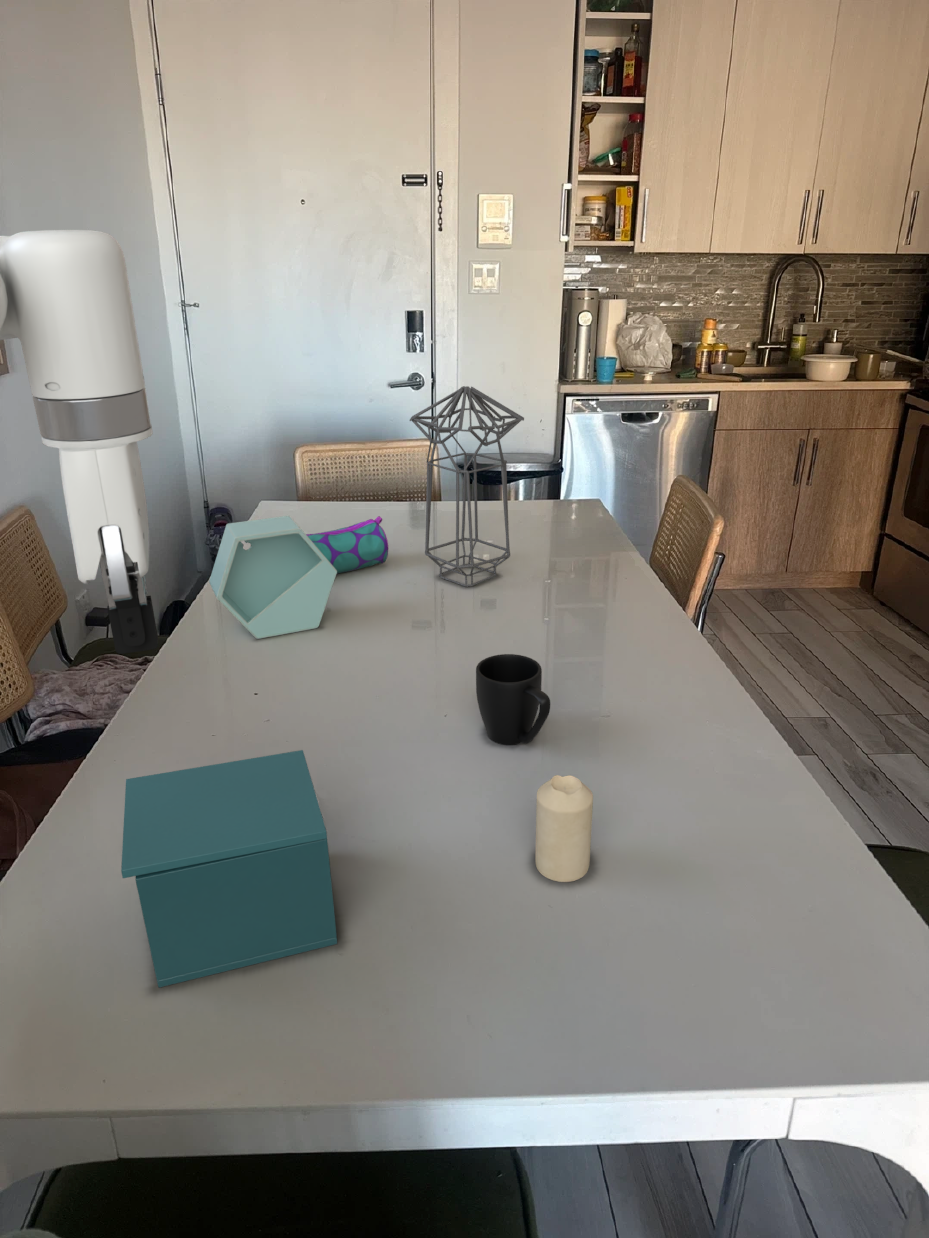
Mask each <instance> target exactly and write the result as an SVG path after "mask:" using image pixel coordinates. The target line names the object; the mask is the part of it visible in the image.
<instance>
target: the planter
mask: <svg viewBox="0 0 929 1238" xmlns="http://www.w3.org/2000/svg"><path fill="white" fill-rule="evenodd" d="M242 542H245V543H246V544H250V546H249V547H248V548H247V549H245V548H244V543H242ZM216 554H217V555H216V557H215V561H214V564H213V568H212V571H211V574H210V577H209V581H208V583H209V585H210V587H211V589H212V592H213V594H214V596H215V598H216V599H217V601H218V602H219V603H220V604H221V605H222V606H223V607H224V608H225V609H227V611H228V612H229V613H230V614H231V615H232V616H233V617H234V618H235V619H236V620H237V621H238V622H239V623H240V624H241V625H242V626H243V627H244V628H245V629H246V630H247V631H248V632H249V633H250V634H251V635H252V637H254V638H255V639H257V640H260V639H265V638H270V637H276V636H282V635H286V634H287V635H288V634H292V633H298V632H303V631H309V630H313V629H318V628H319V626H320V624H321V621H322V618H323V615H324V612H325V609H326V606H327V603H328V600H329V597H330V594H331V592H332V588H333V586H334V582H335V581H336V577H337V570H336V569H335V568H334V567H333V565H332V564H331V563H330V562H329V561H328V560H327V558H326V557H325V556H324V555H323V554H322V553H321V551H320V550H319V549H318V548H317V547H316V546H315V544H314V543H313V542H312V541H311V540H310V539H309V537H308V536H307V535H306V533H305V532H304V530H303V529H302V528H301V527H300V526H299V525H298V523H297V522H296V521H295V520H294V518H292V516H291V515H282V516H276V517H267V518H260V519H252V520H245V521H238V522H237V521H236V522H229V523H226V525H225V528H224V531H223V535H222V536H221V541H220V545H219V547H218V551H217V553H216Z"/></svg>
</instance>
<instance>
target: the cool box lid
mask: <svg viewBox="0 0 929 1238" xmlns="http://www.w3.org/2000/svg"><path fill="white" fill-rule="evenodd" d="M122 829H123V830H122V846H121V868H120V872H121V877H122V879H126V878H131V877H136V876H138V875H143V874H148V873H153V872H158V871H163V870H168V869H173V868H179V867H184V866H189V865H194V864H199V863H204V862H209V861H214V860H220V859H225V858H230V857H235V856H240V855H245V854H250V853H255V852H260V851H266V850H271V849H276V848H281V847H286V846H291V845H296V844H301V843H306V842H312V841H317V840H322V839H327V840H328V834H327V833H328V831H327V828H326V824H325V821H324V818H323V814H322V811H321V807H320V804H319V800H318V796H317V794H316V791H315V787H314V783H313V779H312V776H311V773H310V771H309V766H308V763H307V760H306V756H305V752H304V750H303V749H301V750H293V751H287V752H282V753H275V754H269V755H264V756H257V757H252V758H246V759H240V760H239V759H238V760H234V761H228V762H222V763H216V764H209V765H204V766H203V765H202V766H198V767H192V768H185V769H179V770H173V771H168V772H167V771H166V772H161V773H155V774H149V775H144V776H136V777H130V778H126V779H125V790H124V811H123V827H122Z"/></svg>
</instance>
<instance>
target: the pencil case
mask: <svg viewBox="0 0 929 1238" xmlns="http://www.w3.org/2000/svg"><path fill="white" fill-rule="evenodd" d="M382 522H383V518H382V516H380V515H378V516H377V517H376V518H374V519H373V518H370V519H369V518H368V519H367V520H365V521H361V522H358V523H354V524H352V525H349V526H346V527H341V528H338V529H334V530H328V531H323V532H317V533H307V534H306V533H305V534H306V535H307V536H308V537H309V539H310V540H311V541H312V542H313V543H314V544H315V546H316V547H317V548H318V549H319V550H320V551H321V553H322V554H323V555H324V556H325V557H326V558H327V560H328V561H329V562H330V563H331V564H332V565H333V567H334V568H335V569H336V570H337V574H342V573H348V572H352V571H357V570H361V569H364V568H367V567H372V566H374V565H381V564H384V563H385V562H386V561H387V559H388V556H389V541H388V537H387V534H386V532H385V530H384V529H383V527H382V526H381V525H380V524H382ZM337 574H336V575H337Z"/></svg>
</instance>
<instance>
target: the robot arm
mask: <svg viewBox="0 0 929 1238" xmlns="http://www.w3.org/2000/svg"><path fill="white" fill-rule="evenodd" d="M11 339H18V340H19V341H20V344H21V345H20V346H21V349H22V353H23V360H24V364H25V368H26V373H27V377H28V382H29V387H30V392H31V396H32V401H33V405H34V410H35V416H36V419H37V425H38V428H39V433H40V437H41V443H42V444H43V445H44V446H46V447H49V448H52V449H53V448H54V449H58V459H59V468H60V477H61V483H62V491H63V492H62V493H63V499H64V504H65V510H66V515H67V521H68V526H69V532H70V533H69V534H70V538H71V543H72V549H73V555H74V562H75V566H76V567H75V568H76V573H77V579H78V581H79V582H80V583H82V584H84V585H88V584H89V585H90V583H91V582H90V581H95V580H96V578H97V574H98V571H99V567H100V573H101V577H102V582H103V586H104V590H105V595H106V600H107V607H106V609H107V615H108V620H109V624H110V625H109V626H110V630H111V634H112V640H113V644H114V650H115V652H116V654H118V655H124V654H131V653H137V652H146V651H152V650H156V649H157V648H158V646H159V635H158V629H157V623H156V617H155V611H154V606H153V600H152V596H151V595H148V588H147V587H148V586H147V581H146V575H147V573H149V569H150V568H149V567H150V529H149V526H150V525H149V524H150V523H149V515H148V514H149V513H148V504H147V496H146V489H145V482H144V476H143V470H142V469H143V468H142V464H141V463H142V462H141V457H140V452H139V444H138V442H140V441H143V440H146V439H148V438H149V437H151V436H153V435H154V432H153V426H152V419H151V413H150V405H149V399H148V394H147V388H146V381H145V376H144V369H143V363H142V357H141V350H140V344H139V340H138V339H139V338H138V332H137V326H136V319H135V313H134V307H133V301H132V295H131V289H130V282H129V276H128V270H127V264H126V260H125V254H124V251H123V248H122V246H121V244H120V243H119V242H118V240H117V239H116V238H115V237H114V236H112V235H111V234H110V233H107V232H105V231H100V230H93V229H41V230H25V231H20V232H16V233H14V234H12V235H0V341H4V340H11Z"/></svg>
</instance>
